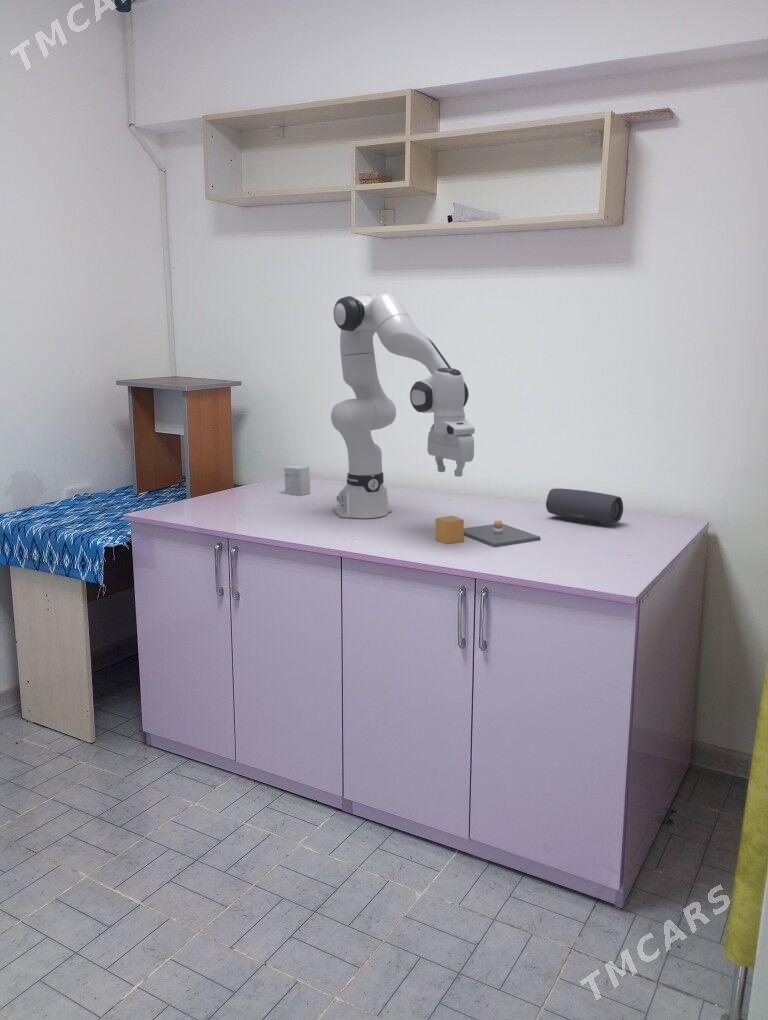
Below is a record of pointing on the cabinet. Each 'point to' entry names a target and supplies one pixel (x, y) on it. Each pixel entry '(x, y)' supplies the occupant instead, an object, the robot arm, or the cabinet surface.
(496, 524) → the plate
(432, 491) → the cabinet surface
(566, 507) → the bluetooth speaker
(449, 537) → the wooden cube
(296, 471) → the small box
